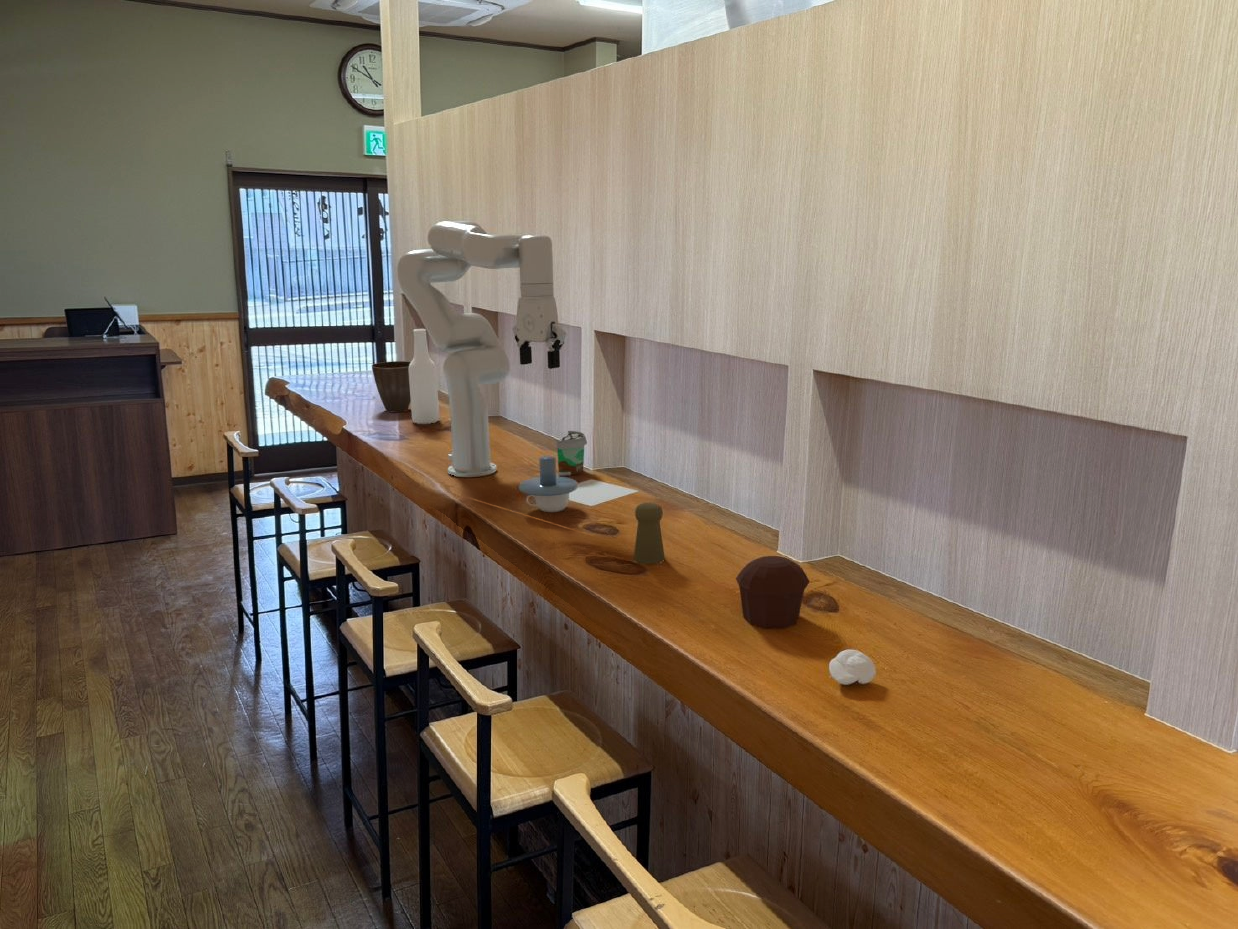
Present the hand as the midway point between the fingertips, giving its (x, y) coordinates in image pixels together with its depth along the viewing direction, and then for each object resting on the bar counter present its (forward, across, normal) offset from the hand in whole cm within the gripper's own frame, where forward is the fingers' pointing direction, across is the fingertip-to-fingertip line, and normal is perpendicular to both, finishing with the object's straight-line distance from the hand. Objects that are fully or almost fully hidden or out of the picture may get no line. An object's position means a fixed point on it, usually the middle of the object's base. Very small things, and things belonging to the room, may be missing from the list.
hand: (539, 365), depth 219 cm
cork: (+31, +50, -18) cm, 61 cm away
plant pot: (+31, -114, +34) cm, 123 cm away
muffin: (+31, +83, -25) cm, 92 cm away
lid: (+25, +12, -10) cm, 29 cm away
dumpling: (+31, +104, -36) cm, 114 cm away
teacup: (+31, +12, -10) cm, 34 cm away
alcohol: (+31, -90, +29) cm, 99 cm away
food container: (+31, -6, +16) cm, 35 cm away
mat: (+30, +10, +6) cm, 32 cm away
